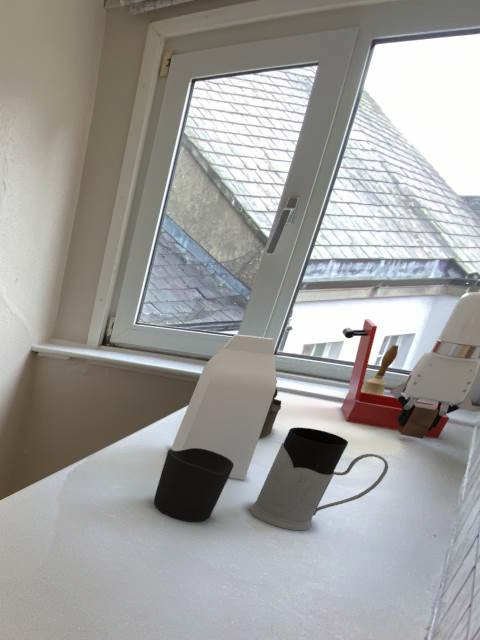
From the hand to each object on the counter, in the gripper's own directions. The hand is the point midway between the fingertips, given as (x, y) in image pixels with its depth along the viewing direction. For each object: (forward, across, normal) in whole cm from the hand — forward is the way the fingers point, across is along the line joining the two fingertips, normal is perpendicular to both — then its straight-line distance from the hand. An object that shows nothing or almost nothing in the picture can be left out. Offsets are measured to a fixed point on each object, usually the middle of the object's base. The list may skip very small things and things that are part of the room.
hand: (413, 426), depth 131 cm
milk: (+4, +39, +51) cm, 64 cm away
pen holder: (+4, +41, +78) cm, 88 cm away
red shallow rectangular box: (+3, +2, -14) cm, 15 cm away
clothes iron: (+4, +32, +21) cm, 38 cm away
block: (+2, 0, 0) cm, 2 cm away
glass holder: (+4, +24, +69) cm, 73 cm away
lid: (-11, +12, -14) cm, 22 cm away
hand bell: (+4, +3, -39) cm, 39 cm away
